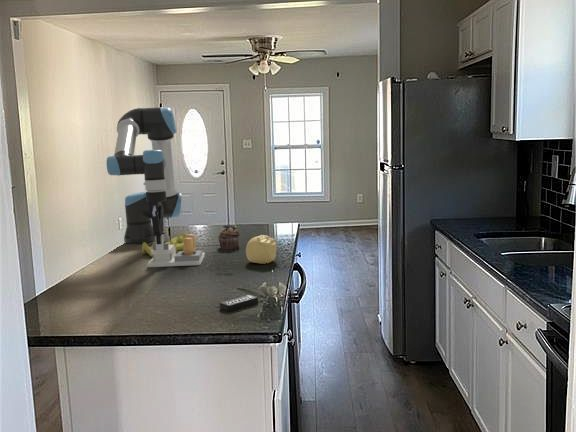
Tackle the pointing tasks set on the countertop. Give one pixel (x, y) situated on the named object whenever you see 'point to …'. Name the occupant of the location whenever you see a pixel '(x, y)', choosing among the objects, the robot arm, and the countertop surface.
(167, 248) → the lid
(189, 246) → the peg
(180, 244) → the plastic component
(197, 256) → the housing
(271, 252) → the sculpture
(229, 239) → the cupcake
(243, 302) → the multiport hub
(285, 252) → the countertop surface
